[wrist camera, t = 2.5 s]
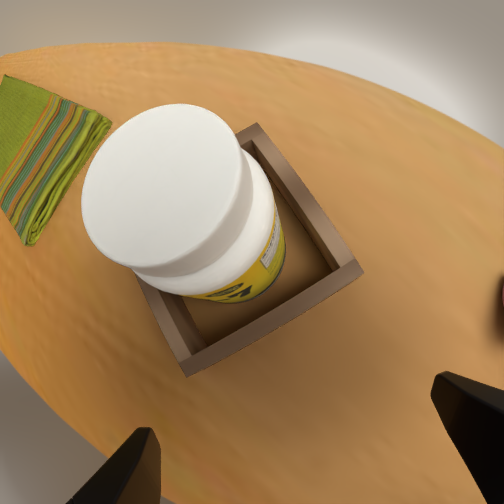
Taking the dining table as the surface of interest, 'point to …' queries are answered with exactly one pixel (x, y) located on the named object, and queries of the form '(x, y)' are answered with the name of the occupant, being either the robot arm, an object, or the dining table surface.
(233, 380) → the dining table surface
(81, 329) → the dining table surface
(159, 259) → the supplement bottle
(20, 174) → the dish towel
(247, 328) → the walnut holder
